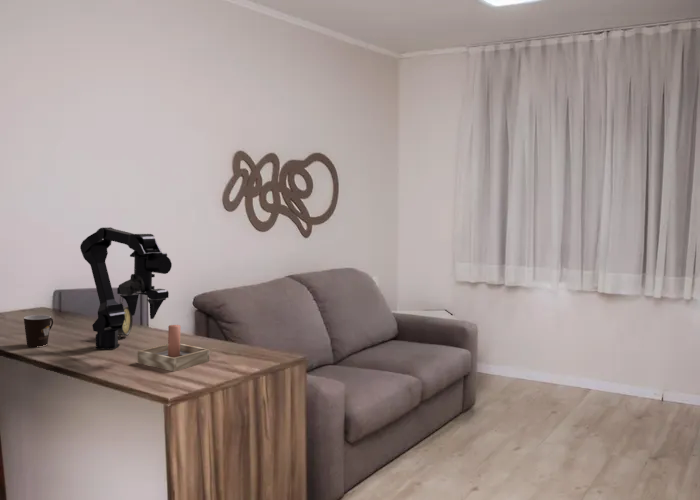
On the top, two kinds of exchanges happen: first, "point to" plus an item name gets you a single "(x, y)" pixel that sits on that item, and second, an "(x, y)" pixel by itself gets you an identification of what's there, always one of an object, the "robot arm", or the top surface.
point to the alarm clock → (126, 322)
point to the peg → (174, 340)
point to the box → (162, 360)
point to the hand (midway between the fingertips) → (142, 317)
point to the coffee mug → (37, 329)
